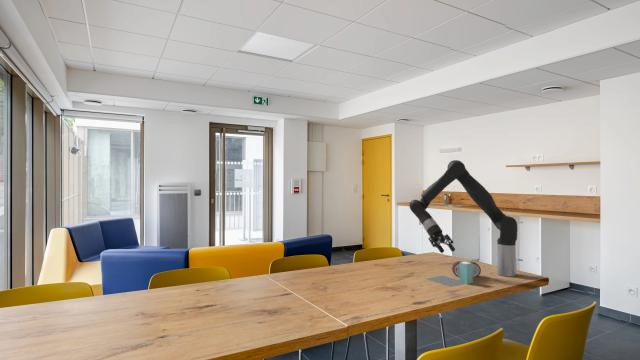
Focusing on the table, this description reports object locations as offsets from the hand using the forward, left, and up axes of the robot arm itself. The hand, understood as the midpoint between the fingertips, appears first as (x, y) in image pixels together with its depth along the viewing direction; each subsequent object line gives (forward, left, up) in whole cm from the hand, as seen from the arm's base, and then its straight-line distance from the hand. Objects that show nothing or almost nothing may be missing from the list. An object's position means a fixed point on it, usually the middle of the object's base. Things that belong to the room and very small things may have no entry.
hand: (448, 251), depth 197 cm
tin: (-12, +2, -15) cm, 19 cm away
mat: (+6, +4, -15) cm, 16 cm away
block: (0, +11, -14) cm, 18 cm away
